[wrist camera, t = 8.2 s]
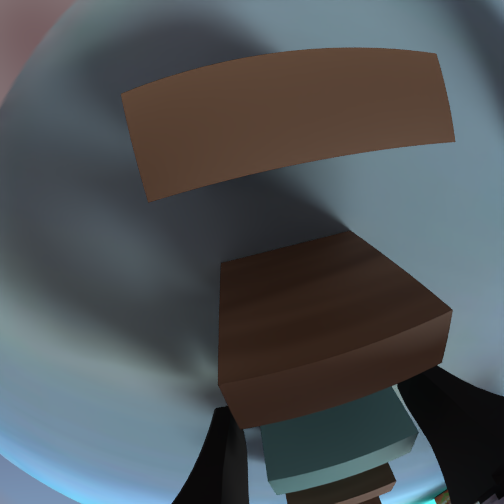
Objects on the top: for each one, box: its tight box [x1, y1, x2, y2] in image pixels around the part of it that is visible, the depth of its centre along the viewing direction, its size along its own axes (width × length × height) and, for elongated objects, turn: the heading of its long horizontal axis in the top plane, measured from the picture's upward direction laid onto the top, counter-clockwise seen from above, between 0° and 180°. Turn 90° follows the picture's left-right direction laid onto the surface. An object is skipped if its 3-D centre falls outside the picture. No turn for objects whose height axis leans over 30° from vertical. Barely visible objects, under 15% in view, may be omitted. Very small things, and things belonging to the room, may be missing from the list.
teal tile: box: [260, 386, 418, 495], centre depth 10 cm, size 2×5×6 cm, turn 104°
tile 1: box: [121, 48, 455, 203], centre depth 6 cm, size 2×5×6 cm, turn 103°
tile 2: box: [218, 231, 453, 429], centre depth 8 cm, size 2×5×6 cm, turn 103°
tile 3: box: [286, 462, 396, 504], centre depth 11 cm, size 2×5×6 cm, turn 103°
